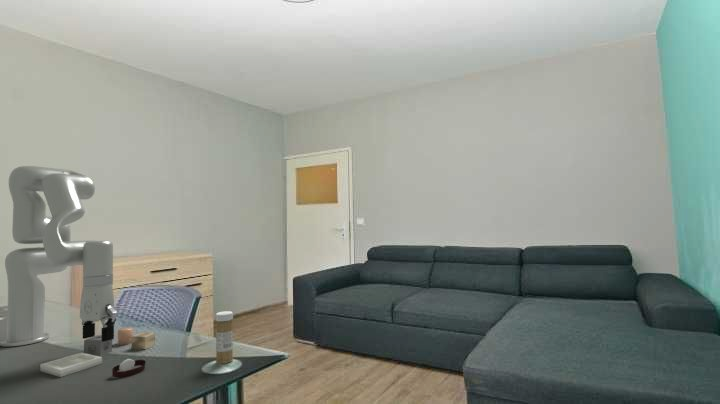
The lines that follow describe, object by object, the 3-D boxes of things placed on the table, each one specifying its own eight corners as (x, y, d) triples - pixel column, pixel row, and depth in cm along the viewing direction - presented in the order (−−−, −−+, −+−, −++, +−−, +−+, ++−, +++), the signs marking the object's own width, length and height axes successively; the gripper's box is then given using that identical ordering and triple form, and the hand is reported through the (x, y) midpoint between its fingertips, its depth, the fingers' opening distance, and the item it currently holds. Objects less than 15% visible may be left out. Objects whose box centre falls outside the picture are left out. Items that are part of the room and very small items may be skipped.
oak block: (131, 349, 117) (131, 336, 117) (141, 345, 121) (141, 332, 121) (145, 350, 116) (145, 336, 116) (154, 345, 120) (154, 333, 120)
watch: (141, 367, 102) (141, 353, 102) (148, 371, 99) (149, 357, 99) (109, 376, 96) (109, 362, 96) (115, 381, 93) (116, 366, 93)
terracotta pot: (114, 344, 122) (114, 330, 123) (127, 340, 126) (128, 326, 127) (122, 345, 120) (122, 331, 121) (136, 341, 124) (136, 328, 125)
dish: (40, 371, 100) (40, 364, 100) (81, 358, 109) (81, 352, 109) (60, 377, 96) (60, 370, 96) (101, 363, 105) (102, 357, 105)
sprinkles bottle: (231, 357, 107) (231, 309, 108) (234, 362, 103) (233, 313, 104) (214, 360, 105) (214, 311, 106) (216, 365, 101) (216, 315, 102)
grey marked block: (112, 351, 115) (112, 335, 115) (100, 357, 110) (100, 340, 110) (96, 351, 115) (96, 335, 116) (83, 357, 110) (84, 340, 111)
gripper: (68, 282, 114) (68, 339, 113) (101, 284, 107) (101, 345, 106) (95, 279, 121) (94, 333, 120) (128, 280, 113) (128, 337, 112)
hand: (98, 338), depth 113 cm, fingers open, 9 cm apart
